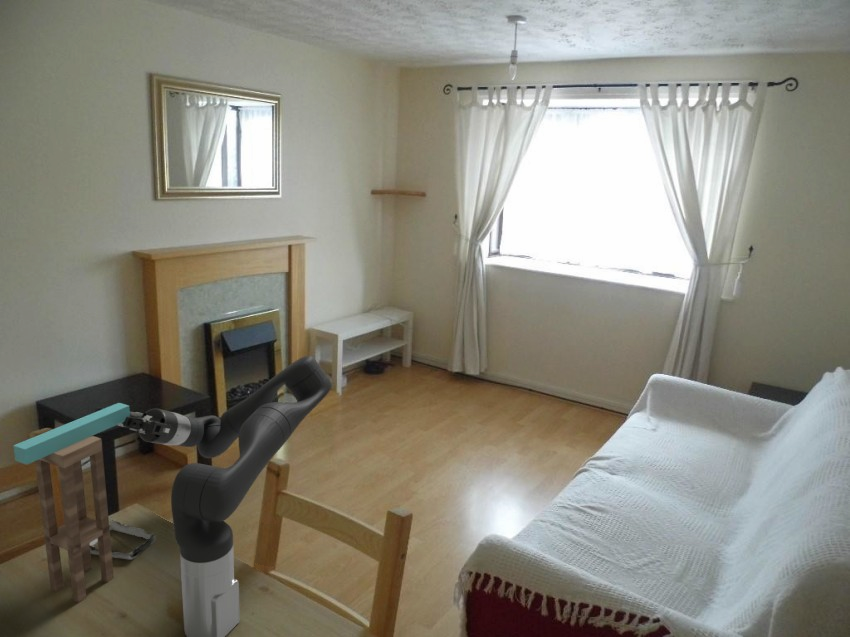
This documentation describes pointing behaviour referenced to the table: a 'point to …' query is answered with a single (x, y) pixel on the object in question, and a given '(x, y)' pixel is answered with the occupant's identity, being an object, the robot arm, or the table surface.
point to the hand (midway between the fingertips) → (110, 416)
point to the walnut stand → (75, 515)
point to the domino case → (70, 433)
